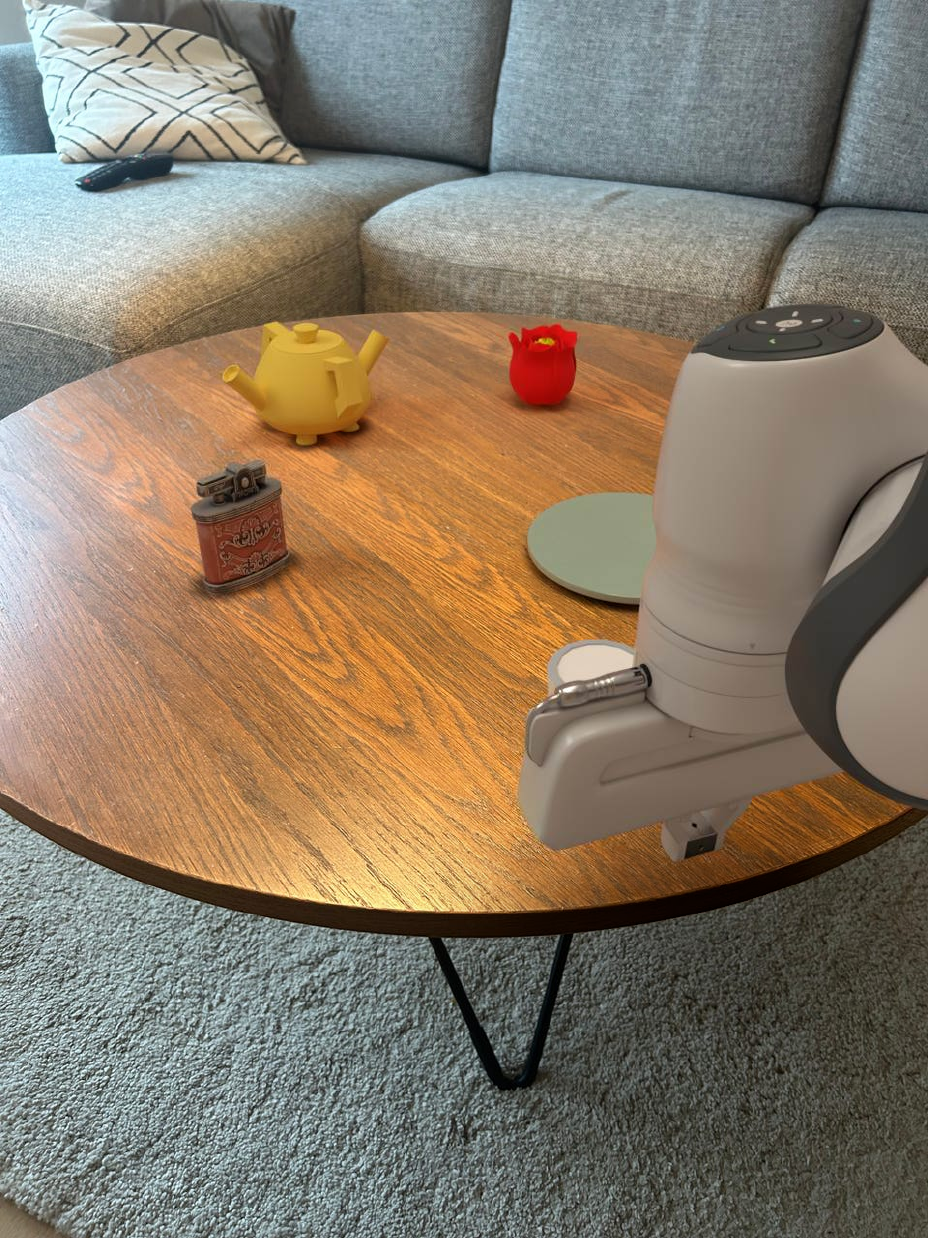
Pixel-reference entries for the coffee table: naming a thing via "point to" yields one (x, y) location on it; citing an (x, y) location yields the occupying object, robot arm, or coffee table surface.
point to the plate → (596, 544)
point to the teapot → (309, 380)
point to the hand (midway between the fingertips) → (690, 847)
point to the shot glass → (587, 661)
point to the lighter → (240, 527)
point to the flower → (543, 364)
